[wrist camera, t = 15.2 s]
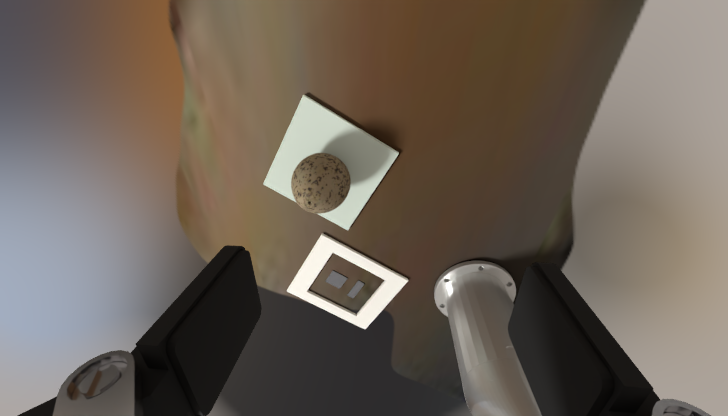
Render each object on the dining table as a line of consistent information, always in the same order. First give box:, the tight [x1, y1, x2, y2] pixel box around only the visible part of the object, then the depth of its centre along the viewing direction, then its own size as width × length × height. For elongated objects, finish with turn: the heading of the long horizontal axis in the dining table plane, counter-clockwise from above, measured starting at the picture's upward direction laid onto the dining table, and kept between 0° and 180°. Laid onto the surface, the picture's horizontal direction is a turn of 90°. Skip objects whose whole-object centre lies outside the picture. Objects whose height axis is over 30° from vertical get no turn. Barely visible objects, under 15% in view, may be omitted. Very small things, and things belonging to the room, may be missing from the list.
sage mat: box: [264, 95, 399, 230], centre depth 40 cm, size 14×14×1 cm
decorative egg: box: [291, 153, 351, 214], centre depth 36 cm, size 7×7×10 cm
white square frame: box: [287, 233, 408, 329], centre depth 50 cm, size 16×14×1 cm
